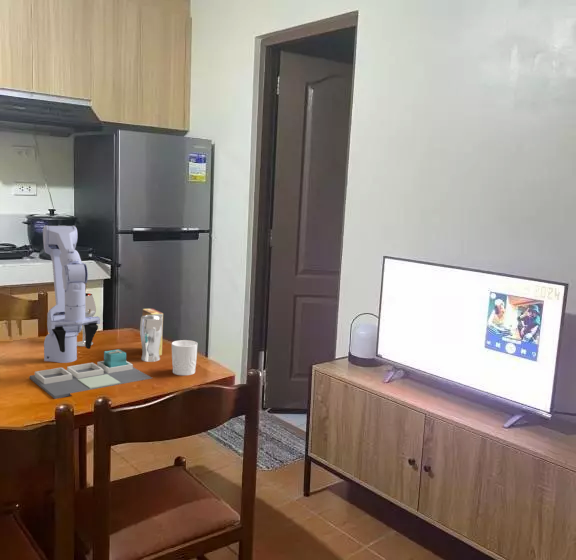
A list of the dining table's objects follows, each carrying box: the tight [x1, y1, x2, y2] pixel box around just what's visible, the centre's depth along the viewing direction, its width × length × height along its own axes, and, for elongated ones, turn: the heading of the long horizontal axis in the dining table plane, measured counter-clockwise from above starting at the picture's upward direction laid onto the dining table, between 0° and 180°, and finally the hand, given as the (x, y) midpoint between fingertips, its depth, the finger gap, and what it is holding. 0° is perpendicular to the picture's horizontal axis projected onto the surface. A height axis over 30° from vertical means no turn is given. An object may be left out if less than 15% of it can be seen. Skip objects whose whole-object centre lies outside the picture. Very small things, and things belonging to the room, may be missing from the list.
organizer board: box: [29, 360, 153, 400], centre depth 180 cm, size 20×29×2 cm
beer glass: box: [139, 315, 162, 363], centre depth 200 cm, size 7×7×15 cm
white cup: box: [171, 339, 198, 376], centre depth 188 cm, size 8×8×10 cm
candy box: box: [141, 308, 164, 356], centre depth 208 cm, size 9×4×15 cm, turn 36°
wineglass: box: [77, 292, 97, 347], centre depth 216 cm, size 8×8×18 cm
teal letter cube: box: [103, 349, 127, 368], centre depth 189 cm, size 5×5×5 cm
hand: (75, 349), depth 180 cm, fingers open, 7 cm apart
